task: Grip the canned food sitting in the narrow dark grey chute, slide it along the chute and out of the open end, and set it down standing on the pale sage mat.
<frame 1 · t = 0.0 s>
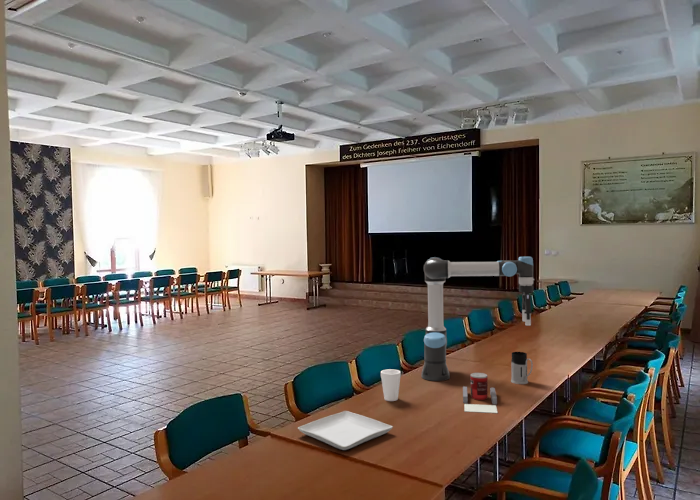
hand: (526, 323, 287), 28 cm above the table, tool pointing down, fingers open, 13 cm apart
foam cup: (391, 399, 249), on the table
chute: (479, 398, 247), on the table
square plate: (345, 436, 206), on the table
canned food: (479, 398, 248), on the table
white and black mug: (522, 383, 271), on the table
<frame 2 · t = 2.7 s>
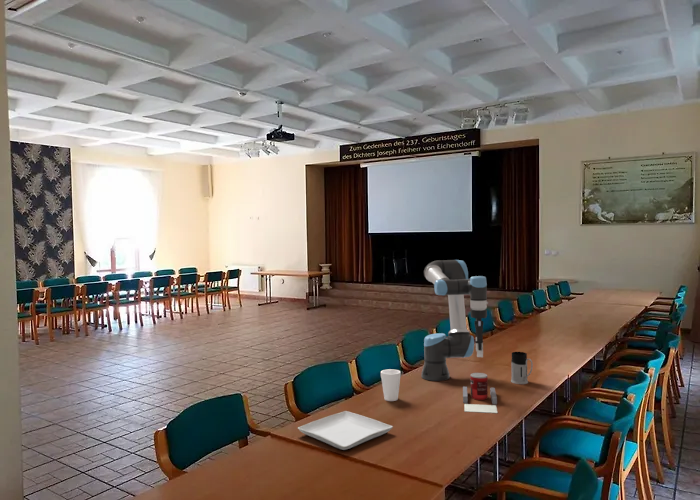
hand: (479, 353, 248), 21 cm above the table, tool pointing down, fingers open, 13 cm apart
nothing on the table moved.
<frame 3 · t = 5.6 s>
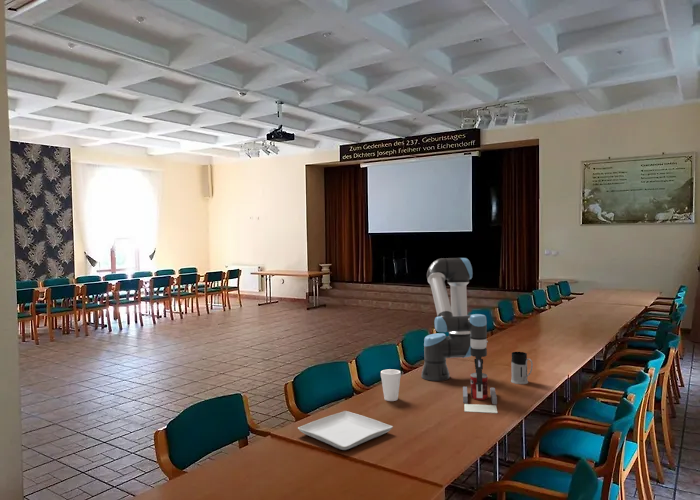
hand: (479, 395, 248), 1 cm above the table, tool pointing down, fingers closed on canned food, 8 cm apart
canned food: (479, 398, 248), on the table, touching gripper
everything else where it was.
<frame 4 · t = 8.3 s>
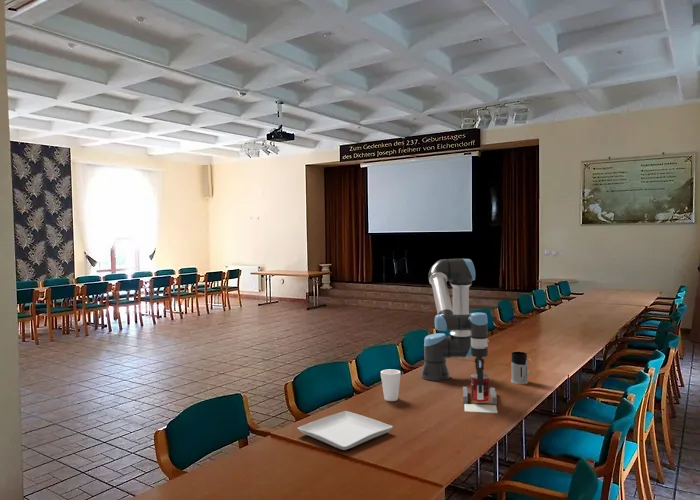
hand: (479, 396, 239), 3 cm above the table, tool pointing down, fingers closed on canned food, 8 cm apart
canned food: (480, 399, 239), point 2 cm above the table, touching gripper
everything else where it was.
when the fingers open (2 cm above the table, at t = 10.9 s): canned food stays where it is, resting on chute.
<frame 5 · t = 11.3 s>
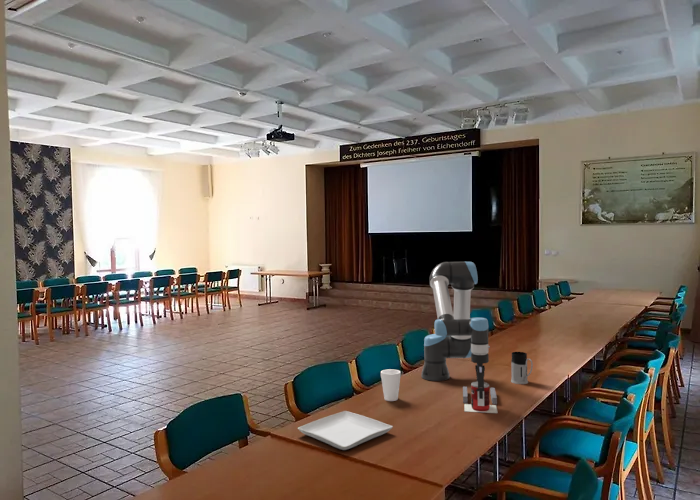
hand: (480, 400, 232), 4 cm above the table, tool pointing down, fingers open, 13 cm apart
canned food: (480, 408, 232), resting on chute
everything else where it was.
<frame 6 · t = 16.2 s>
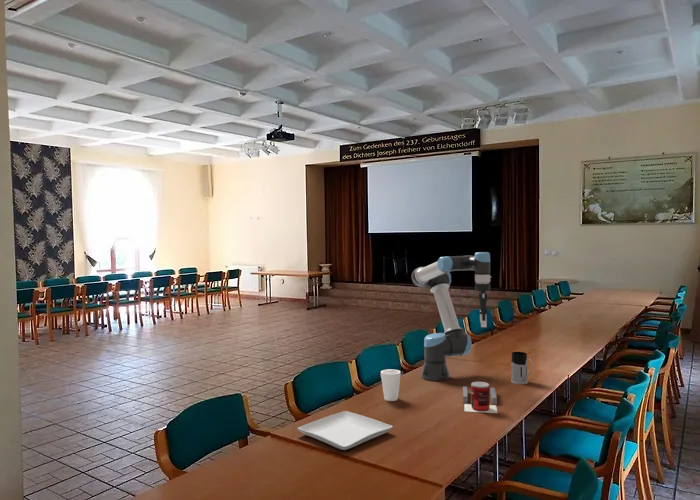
hand: (483, 324, 265), 32 cm above the table, tool pointing down, fingers open, 13 cm apart
nothing on the table moved.
at the end: canned food inside the target area (0.1 cm from its centre), resting on chute; canned food tilted 0°; the gripper is holding nothing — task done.
